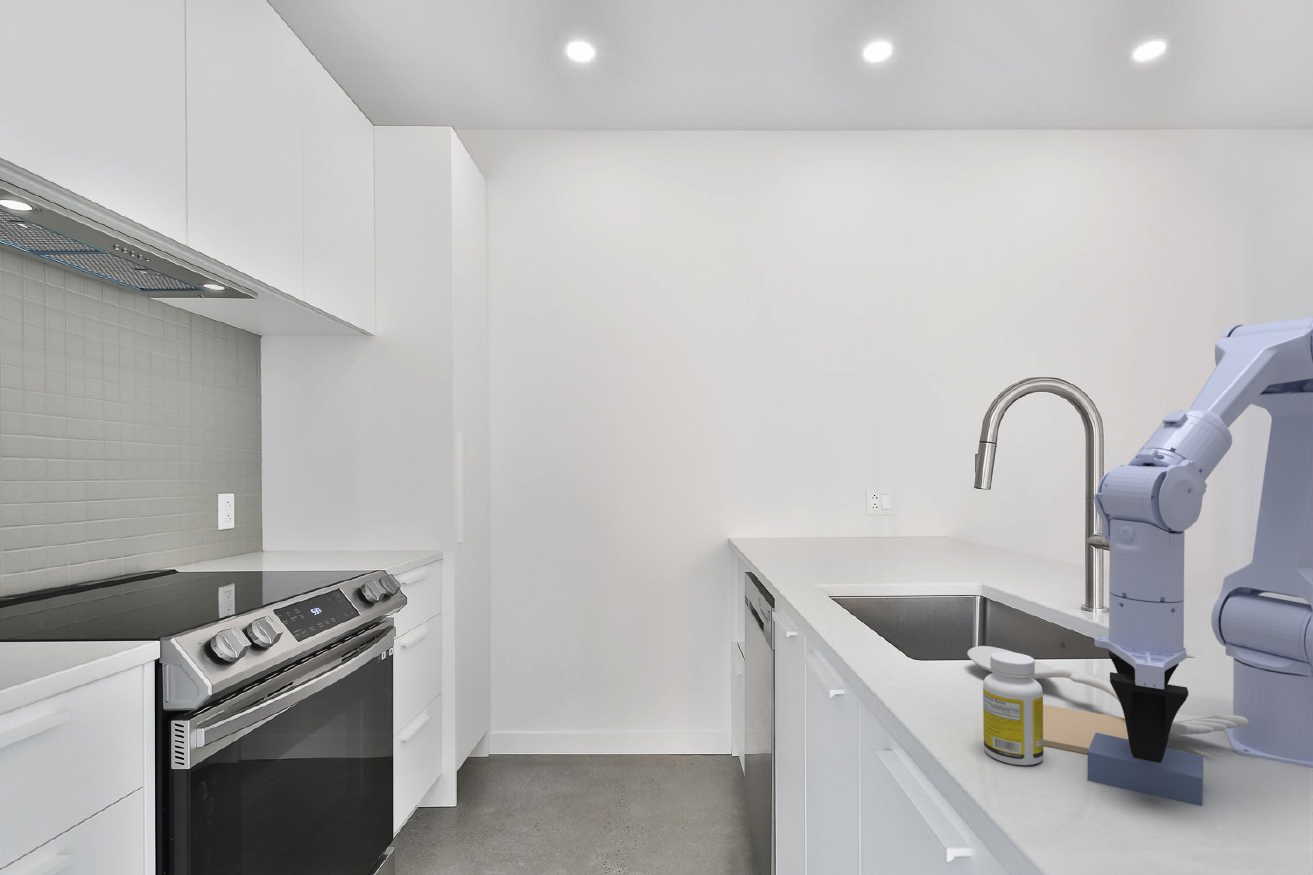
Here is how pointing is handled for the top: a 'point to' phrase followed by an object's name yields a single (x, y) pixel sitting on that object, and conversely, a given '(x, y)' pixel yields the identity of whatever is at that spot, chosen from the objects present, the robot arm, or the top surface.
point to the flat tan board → (1078, 728)
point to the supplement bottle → (1013, 710)
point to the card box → (1146, 770)
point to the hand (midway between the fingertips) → (1144, 743)
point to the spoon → (1180, 724)
